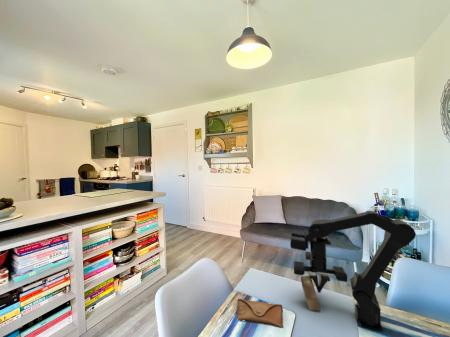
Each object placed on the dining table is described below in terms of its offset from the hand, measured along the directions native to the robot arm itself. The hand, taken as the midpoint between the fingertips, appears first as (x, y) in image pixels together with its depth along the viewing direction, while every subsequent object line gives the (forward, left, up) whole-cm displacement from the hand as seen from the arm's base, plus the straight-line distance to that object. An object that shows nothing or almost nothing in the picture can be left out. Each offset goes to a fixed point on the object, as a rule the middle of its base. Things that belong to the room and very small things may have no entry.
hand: (318, 291), depth 76 cm
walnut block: (+2, 0, -6) cm, 6 cm away
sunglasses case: (+22, +11, -7) cm, 26 cm away
